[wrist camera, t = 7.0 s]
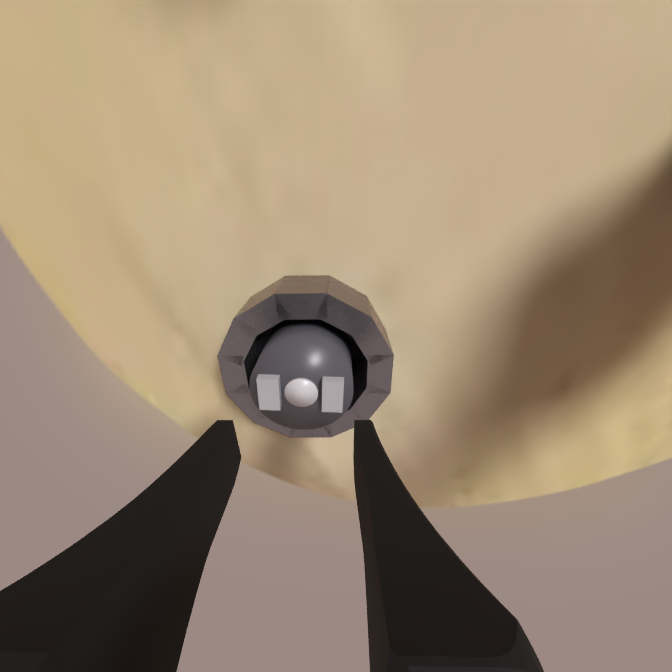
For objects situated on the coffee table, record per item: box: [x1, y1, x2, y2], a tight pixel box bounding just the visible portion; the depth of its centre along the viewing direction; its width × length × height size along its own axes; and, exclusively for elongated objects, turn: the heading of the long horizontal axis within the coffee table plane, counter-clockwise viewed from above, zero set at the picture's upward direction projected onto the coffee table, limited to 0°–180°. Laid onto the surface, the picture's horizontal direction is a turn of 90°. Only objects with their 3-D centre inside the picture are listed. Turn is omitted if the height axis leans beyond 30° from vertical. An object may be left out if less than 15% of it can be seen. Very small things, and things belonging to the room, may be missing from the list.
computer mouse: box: [249, 319, 353, 430], centre depth 16 cm, size 5×5×4 cm
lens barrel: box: [218, 276, 394, 437], centre depth 17 cm, size 9×9×3 cm
